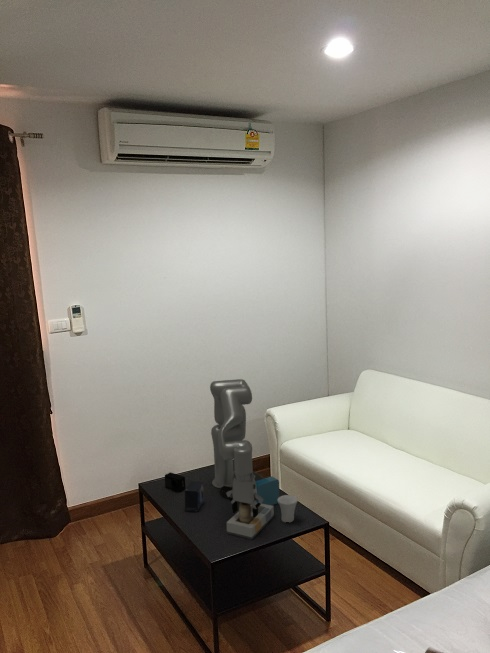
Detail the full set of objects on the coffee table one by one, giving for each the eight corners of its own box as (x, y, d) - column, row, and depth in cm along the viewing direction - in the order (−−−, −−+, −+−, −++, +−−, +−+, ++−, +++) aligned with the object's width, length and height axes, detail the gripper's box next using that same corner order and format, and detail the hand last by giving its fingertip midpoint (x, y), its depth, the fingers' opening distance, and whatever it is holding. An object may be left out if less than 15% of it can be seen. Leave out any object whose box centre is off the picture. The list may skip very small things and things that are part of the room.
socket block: (250, 511, 246) (249, 500, 245) (274, 516, 240) (273, 505, 239) (226, 533, 227) (226, 521, 226) (252, 539, 221) (252, 527, 220)
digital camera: (163, 488, 273) (162, 475, 272) (171, 484, 277) (170, 471, 276) (177, 493, 267) (177, 480, 266) (185, 489, 271) (184, 476, 270)
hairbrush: (250, 506, 246) (216, 487, 264) (250, 513, 246) (216, 494, 265) (263, 500, 251) (229, 482, 269) (263, 507, 252) (229, 488, 270)
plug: (243, 523, 232) (242, 497, 231) (253, 526, 230) (252, 499, 228) (237, 529, 228) (236, 502, 226) (248, 531, 226) (247, 504, 224)
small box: (198, 512, 246) (197, 491, 245) (184, 511, 248) (183, 490, 246) (204, 502, 257) (203, 481, 255) (191, 501, 258) (190, 480, 256)
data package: (274, 499, 257) (273, 475, 255) (279, 502, 253) (279, 478, 252) (253, 506, 251) (252, 481, 249) (258, 509, 247) (257, 485, 245)
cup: (273, 518, 238) (273, 497, 237) (292, 513, 242) (291, 492, 241) (283, 527, 230) (282, 505, 229) (302, 522, 234) (301, 500, 233)
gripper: (266, 475, 225) (267, 514, 227) (230, 469, 233) (231, 506, 235) (258, 482, 218) (259, 522, 221) (221, 475, 227) (223, 514, 229)
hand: (245, 514), depth 228 cm, fingers open, 9 cm apart
